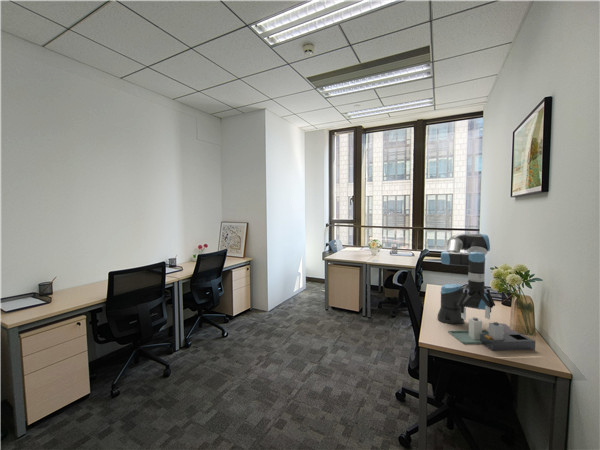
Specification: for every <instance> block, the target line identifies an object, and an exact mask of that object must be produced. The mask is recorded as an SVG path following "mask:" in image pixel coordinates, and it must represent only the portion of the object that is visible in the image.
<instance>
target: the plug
mask: <svg viewBox="0 0 600 450" xmlns="http://www.w3.org/2000/svg"><path fill="white" fill-rule="evenodd" d="M468 330H469V336H470V337H471V338H472V339H480V334H482V330H483V321H482V320H480V319H479V318H478V317H472V318H471V317H470V318H468Z"/></svg>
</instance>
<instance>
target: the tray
mask: <svg viewBox="0 0 600 450" xmlns="http://www.w3.org/2000/svg"><path fill="white" fill-rule="evenodd" d="M448 334H450V335H451V336H452V337H454V338H455V339H456V340H457V341H459V342H460V343H461V344H463V345H483V344H482V341H480V339H472V338H471V337H470V336H469V329H467V330H466V329H464V330H462V329H461V330H459V329H457V330H448ZM482 334H489V330H486V329H482Z"/></svg>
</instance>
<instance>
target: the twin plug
mask: <svg viewBox="0 0 600 450" xmlns="http://www.w3.org/2000/svg"><path fill="white" fill-rule="evenodd" d="M503 329H504V326H502V325H501V324H499V322H497V321H493V322H488V332H489V336H490V337H492V339H493V340H503V334H504V333H503Z"/></svg>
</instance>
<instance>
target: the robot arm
mask: <svg viewBox="0 0 600 450" xmlns="http://www.w3.org/2000/svg"><path fill="white" fill-rule="evenodd" d="M490 243H491V242H490V238H489V235H487V234H484V233H483V234H482V233H479V234H478V233H476V234H475V233H458V234H455V235H453V236H451V237H449V239H448V240H447V244H446V246H447V249H446V251H442V252H441V254H440V262H441V264H443V265H449V266H450V265H451V266H460V267H461V266H463V267H465V266H466V267H468V276H467V278H468V280H467V284H466V285H465V287H463V286H462V285H461V284H458V283H447V284H443V285H441V287H440V307H439V310H438V313H437V320H438V321H439V322H440V323H444V324H449V325H456V326H458V325H464V323H465V320H466V319H467V318H466V317H467V315H466V314H467V313H466V312H467V308H469V309H475V310H483V311H484V318H485V319H488V320H490V319H491V313H492V309H493V308H494V307H495V306H496V303H495V301H494V298H493V296H492V294H491V290H490V289H489V288H488V287H487V286H486V281H485V280H486V279H485V277H486V272H485V271H486V268H485V267H486V255H488V252H490V251H491V244H490ZM461 250H462V251H467V252H461Z"/></svg>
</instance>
